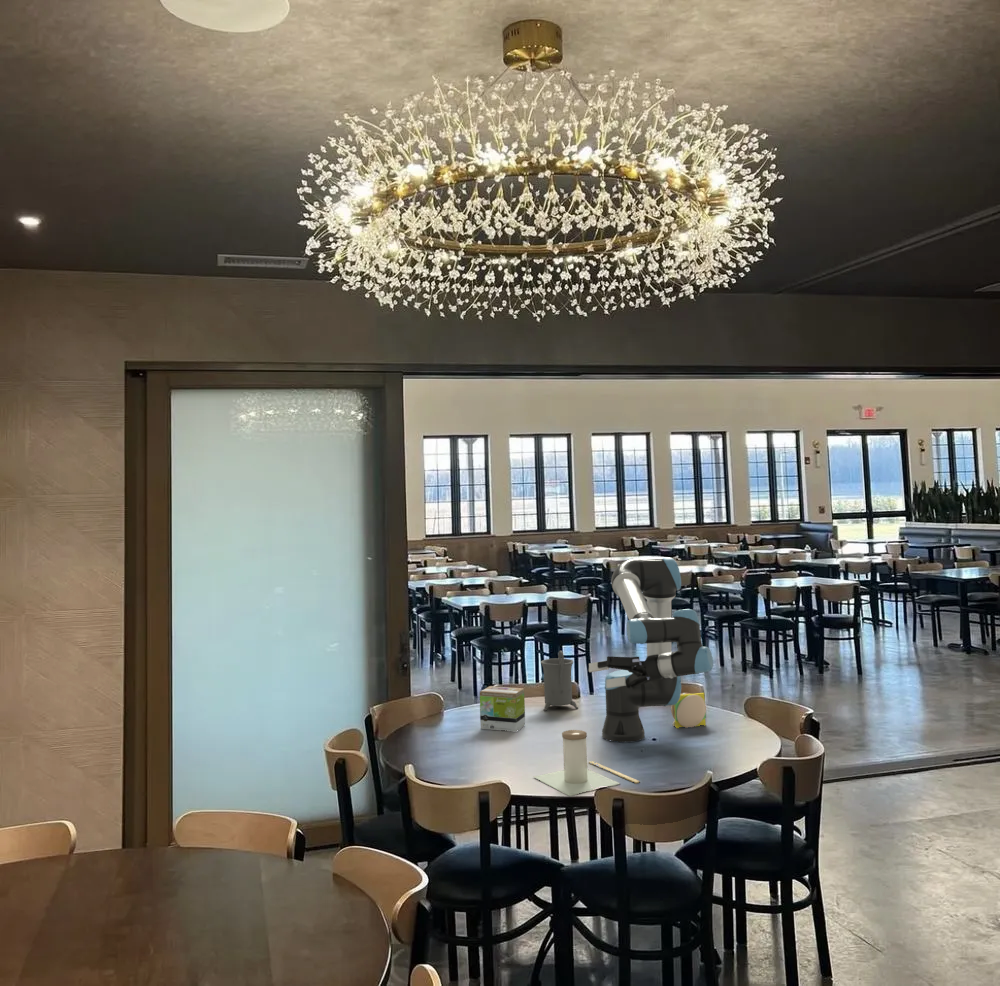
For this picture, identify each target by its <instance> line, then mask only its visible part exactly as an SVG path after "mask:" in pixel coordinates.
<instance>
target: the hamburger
mask: <svg viewBox="0 0 1000 986" xmlns="http://www.w3.org/2000/svg"><path fill="white" fill-rule="evenodd" d="M706 704H707V703H706V699H705V692H697V693H690V692H681V695H680V698H679V701H678V702H677V703H676V704H675V705H670V706H671V709H670V710H671V716H672V718H673V719H674V720H673V721H672V726H673V727H674V726H675V727H676V728H675V727H674V728H675V729H680V728H679V727H685V728H687V729H689V728H688V727H691V728H695V727H701V726H700V725H704V726H706V725H707V724H706V723H707V722H706V718H707V714H706V713H707V712H706V711H707V705H706ZM694 726H695V727H694Z"/></svg>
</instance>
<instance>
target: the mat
mask: <svg viewBox="0 0 1000 986" xmlns="http://www.w3.org/2000/svg"><path fill="white" fill-rule="evenodd" d="M587 775H588V781H587V782H585V783H581V784H571V783H567V782H565V780H564V769H562V770H558V771H553V772H549V773H544V774H540V775H536V776H533V777H535V778H537V779H538V780H537V779H536V780H537V781H539V780H540V781H539V782H541V783H543V784H544V783H545V785H546V784H547V786H548V785H549V786H548V787H550V788H552V789H554V790H556V791H558V792H561V793H563V794H564V795H566V796H568V797H573V796H577V794H578V795H580V794H579V793H582V792H586V791H590V790H593V789H595V788H596V787H599V786H611V787H614V786H620V785H621V783H620V782H618V781H615V780H614V779H611V778H608V777H606V776H604V775H602V774H600V773H598V772H595V771H593V770H591V769H588V768H587ZM535 778H534V779H535ZM590 784H591V785H592V786H591V785H590ZM591 787H594V788H591ZM590 792H591V791H590ZM586 793H587V792H586ZM582 794H583V793H582Z"/></svg>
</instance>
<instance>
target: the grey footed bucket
mask: <svg viewBox="0 0 1000 986" xmlns="http://www.w3.org/2000/svg"><path fill="white" fill-rule="evenodd" d="M557 654H558V655H557V656H558V658H557V657H556V658H546V659H543V660H541V661H540V664H541V666H542V669H543V684H544V685H543V686H544V688H543V689H544V690H543V692H544V703H545V704H544V709H543V711H544V712H546V711H547V710H548V709H549V707H551V706H552V707H553V706H554V707H555V706H556V707H561V706H568V705H570V706H572V707H574V709H576V710H578V709H579V706H577V702H576V701H575V700H573V687H572V667H573V664H574V660H573V659H571V658H570V659H569V658H565V656H564V652H563V650H559V651H558V653H557Z"/></svg>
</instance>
